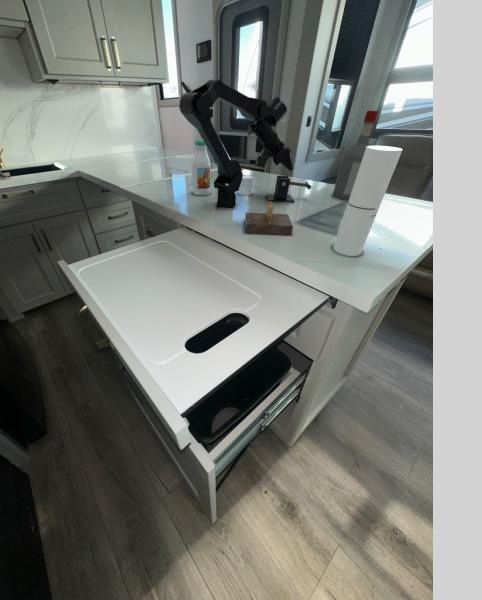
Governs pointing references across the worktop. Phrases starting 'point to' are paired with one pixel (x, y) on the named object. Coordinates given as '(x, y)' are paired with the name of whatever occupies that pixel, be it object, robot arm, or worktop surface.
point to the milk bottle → (200, 170)
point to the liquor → (353, 160)
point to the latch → (301, 184)
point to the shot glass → (246, 185)
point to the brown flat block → (268, 224)
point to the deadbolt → (269, 211)
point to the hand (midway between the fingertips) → (291, 170)
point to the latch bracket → (281, 190)
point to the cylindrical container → (366, 198)
